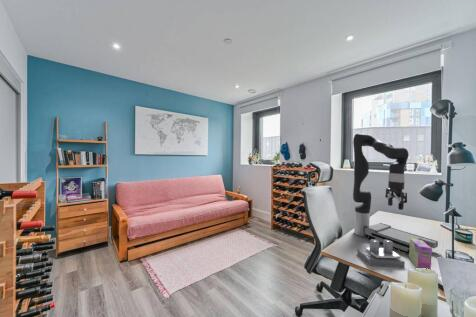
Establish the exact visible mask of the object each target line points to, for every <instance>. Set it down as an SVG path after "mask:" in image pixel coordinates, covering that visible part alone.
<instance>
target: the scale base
mask: <svg viewBox="0 0 476 317" xmlns="http://www.w3.org/2000/svg"><path fill="white" fill-rule="evenodd" d="M357 255H358V256H359V257H360V258H361V259H362V260H363V261H364V262H365V263H366V264H367V265H368V266H370V267H373V266H374V267H393V268H405V262H406V261H405V260H403V259H398V258H376V257H374V256H373V255H372V254H371V253H370V252H368V251H367V250H366V249H359V248H357Z"/></svg>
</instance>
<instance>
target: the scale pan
mask: <svg viewBox="0 0 476 317" xmlns="http://www.w3.org/2000/svg"><path fill="white" fill-rule="evenodd" d="M365 250H367V251H368V252H370V253H371V254H372V255H373V256H374V257H376V258H398V259H401V256H400V255H399V253H397V252H395V251H393V254H388V253H385V252H384V251H383V247H379V253H373V252H371V251H370V247H365Z"/></svg>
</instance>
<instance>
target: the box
mask: <svg viewBox="0 0 476 317" xmlns="http://www.w3.org/2000/svg"><path fill="white" fill-rule="evenodd" d="M432 253H433V248H431V247H430V246H428V245H427V244H426V243H425V242H424V241H422V240H418V239H411V238H410V250H409V254H408V259H410V261H411V262H412V263H413V265H414V266H415V267H416V268H418V269H422V268H428V269H432V255H433V254H432ZM428 269H427V270H428Z"/></svg>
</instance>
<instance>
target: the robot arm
mask: <svg viewBox="0 0 476 317" xmlns="http://www.w3.org/2000/svg"><path fill="white" fill-rule="evenodd" d="M352 140H353V143H352V144H353V153H354V154H353V156H354V159H353V160H354V162H353V164H354V165H353V175H354V178H353V190H352V191H353V193H352V199H353V202H355V203H361V204H360V205H357V206H355V207H354V220H353V221H354V223H353V224H354V225H353V226H354V227H353V228H354V230H353V232H354V233H353V234H355V236H358V237H362V238H363V237H364V238H367V237H366V234H365V227H369V226H370V215H371V214H370V212H371V207H372V206H371V204H372V193H371V192H370V190H367V189H365V190H364V189H361V186H362V183H363V182H364V180H365V179H366V178H367V176H368V175H369V171H370V170H369V167H370V165H369V161H368V159H367V158H366V157H365V155H364V153H363V147H371V148H372V149H374V150H375V151H376V152H378V153H379V154H382V155H384V156H385V157H386V158H387V159H389V160H395V162H393V163H392V162H391V163H390V164H389V173H388V181H387V182H388V184H387V185H388V186H387V188H385V198H386V199H387V205H388V206H389V207H390V206H391V207H392V206H393V204H394V203H393V200H394V199H396V200H397V202H398V205H397V206H398V210H401V211H402V210H404V204H407V203H408V193H407V192H405V191H403V190H404V189H405V168H406V167H405V166H406V164H407V162H408V160H409V156H410V155H409V151H408V150H407V148H405V147H394V146H393V145H392V144H390V143H387V142H385V141H381V140H379V139H377V138H376V137H374V136H373V135H370V134H368V133H355V135H354V136H353V139H352Z"/></svg>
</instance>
